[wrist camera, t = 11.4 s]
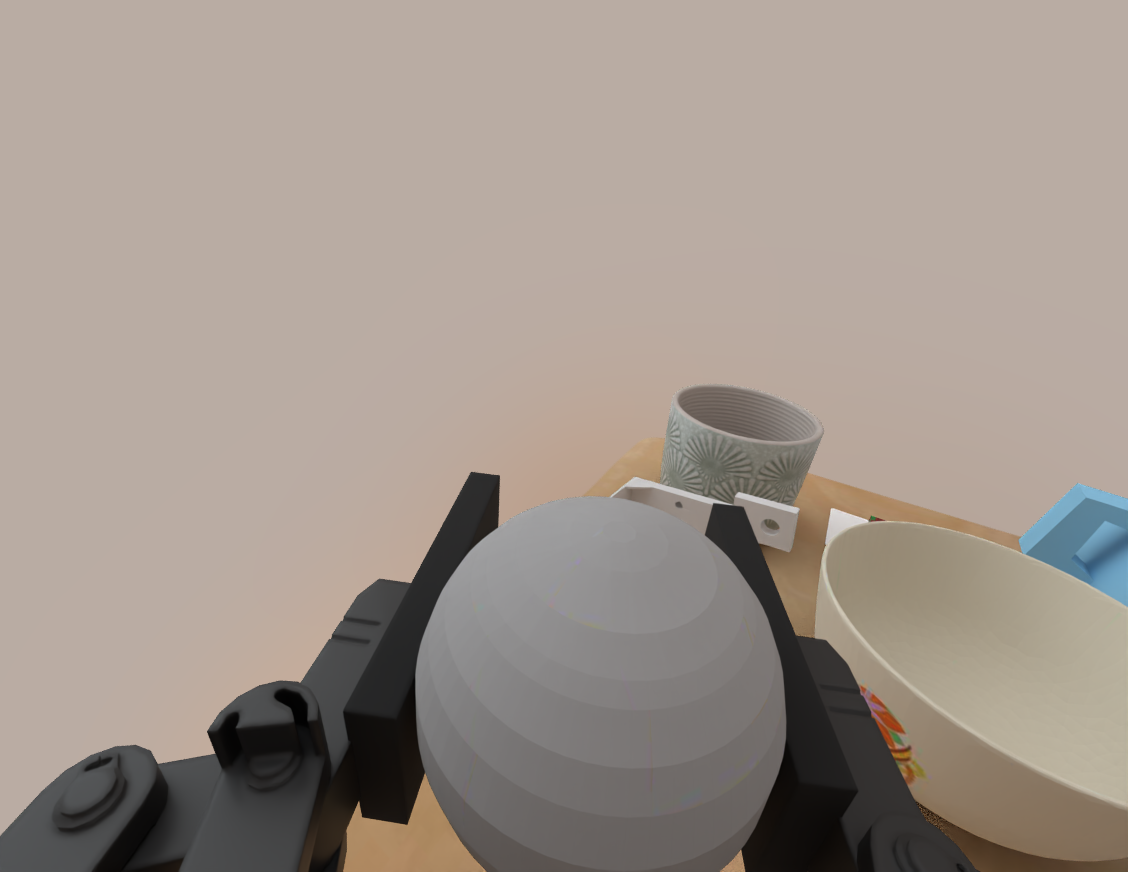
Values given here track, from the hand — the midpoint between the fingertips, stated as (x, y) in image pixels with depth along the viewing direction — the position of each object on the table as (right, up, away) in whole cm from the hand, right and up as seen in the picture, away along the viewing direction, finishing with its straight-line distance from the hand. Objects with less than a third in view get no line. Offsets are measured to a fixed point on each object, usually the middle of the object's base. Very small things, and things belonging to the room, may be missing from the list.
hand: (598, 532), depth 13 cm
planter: (+14, -5, +33) cm, 36 cm away
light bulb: (-1, -8, -2) cm, 8 cm away
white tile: (+28, -7, +32) cm, 43 cm away
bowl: (+19, -15, +14) cm, 28 cm away
